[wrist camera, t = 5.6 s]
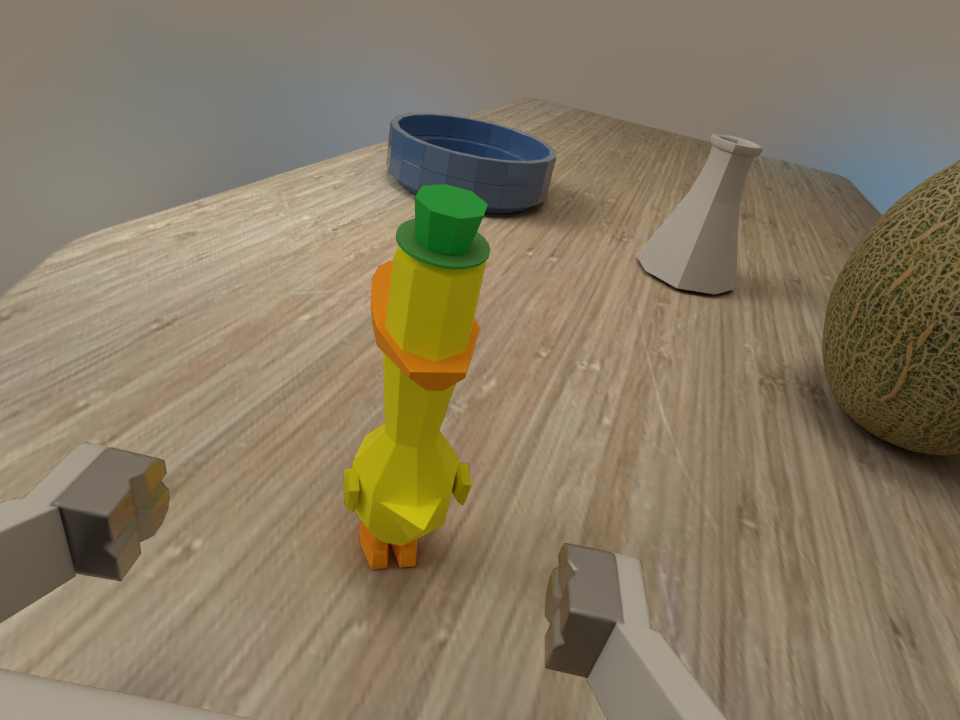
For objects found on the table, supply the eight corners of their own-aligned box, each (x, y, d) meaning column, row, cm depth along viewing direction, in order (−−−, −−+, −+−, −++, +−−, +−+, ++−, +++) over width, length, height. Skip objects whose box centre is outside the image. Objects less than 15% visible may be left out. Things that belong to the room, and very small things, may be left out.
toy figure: (328, 469, 22) (353, 131, 16) (424, 465, 23) (483, 149, 17) (341, 640, 17) (386, 236, 10) (464, 624, 18) (574, 250, 11)
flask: (619, 253, 47) (663, 120, 42) (692, 255, 50) (742, 131, 45) (672, 298, 42) (731, 151, 36) (751, 298, 44) (817, 162, 39)
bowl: (368, 193, 48) (373, 135, 45) (404, 152, 60) (409, 104, 57) (543, 231, 48) (557, 175, 46) (543, 182, 60) (555, 136, 58)
